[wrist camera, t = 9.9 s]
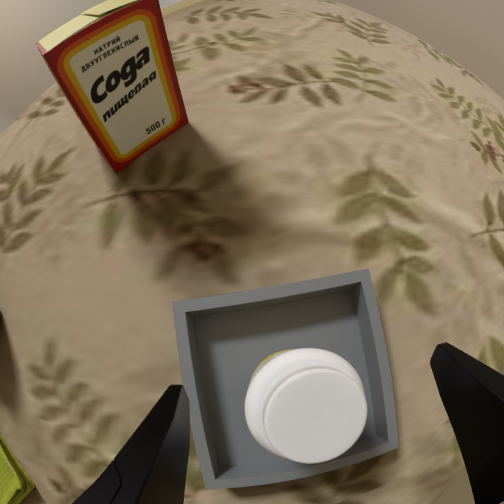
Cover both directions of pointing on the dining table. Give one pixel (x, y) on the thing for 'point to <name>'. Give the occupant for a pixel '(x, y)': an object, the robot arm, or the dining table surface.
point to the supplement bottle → (305, 405)
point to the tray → (261, 346)
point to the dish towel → (12, 478)
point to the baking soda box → (118, 77)
